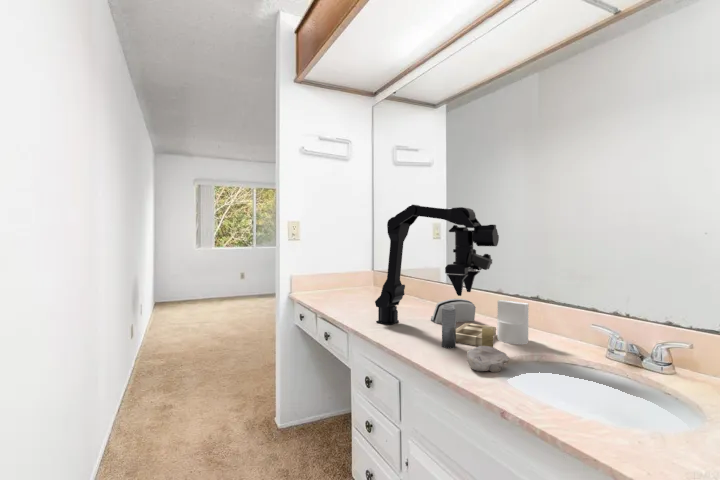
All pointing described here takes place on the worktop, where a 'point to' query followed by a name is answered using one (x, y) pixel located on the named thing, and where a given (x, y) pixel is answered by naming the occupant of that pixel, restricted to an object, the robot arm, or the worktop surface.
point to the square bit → (487, 336)
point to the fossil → (486, 358)
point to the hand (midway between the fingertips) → (464, 293)
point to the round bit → (448, 326)
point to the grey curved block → (463, 310)
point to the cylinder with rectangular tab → (512, 322)
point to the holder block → (471, 334)
